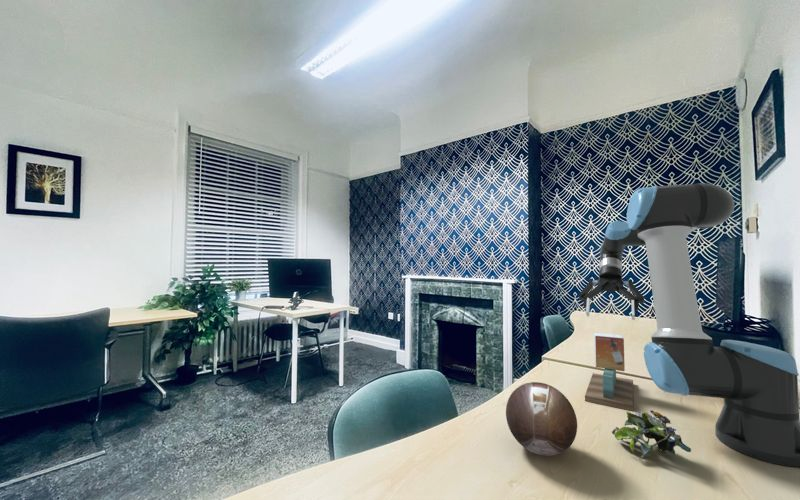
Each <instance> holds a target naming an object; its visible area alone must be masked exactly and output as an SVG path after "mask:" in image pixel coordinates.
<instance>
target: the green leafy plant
mask: <svg viewBox="0 0 800 500" xmlns="http://www.w3.org/2000/svg"><path fill="white" fill-rule="evenodd" d="M649 411H650V413H651V414H652V415H651V414H649V413H648V412H646V411H644V412H643V411H642V412H639V411H638V412H635V413H631V412H630V410H626V411H625V413H626V417H627V420H626V421H625V422H624V424H623V425H624V426H622V427H620V428H619V427H617V426H615V428H613V430H612V431H611V433H612V434H613V435H614V437H615V438H616V440H618V441H621V440H623V439H625V440H630V444H629V448H630V450H631V452H632V453H634V450H635V445H636V444H637V443H639V444H640V449H641V456H640V458H642V459H643V458H644V457H645V455H647V453H648V452H649V451H653V448H654V447H656V446H657V448H658V449H659V450H660V449H661V450H662V451H661V450H660V451H661V452H663V451H666V452H669V453H671V454H673V455H675V454H676V451H675V447H679V448H680V449H682V450H683V451H686V452H687V453H691V452H692V448H691V447H689V446H688V445H686V444H685V443H684V442H683V441H682V437H681V434H677V433H676V432H675V431H677V429H676V428H673V427H672V426H667V424H672V422H671V419H669V418H668V417H667V416H666V415H664V414H662V413H660V412H659V411H654V410H652V409H650V410H649ZM629 426H633V427H629ZM636 427H637V428H636ZM643 436H644V437H645V438H647V440H645V439H644V437H643ZM650 439H651V440H654V441H655V443H653V444H649V443H650ZM640 440H641V441H640ZM623 441H624V440H623Z"/></svg>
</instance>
